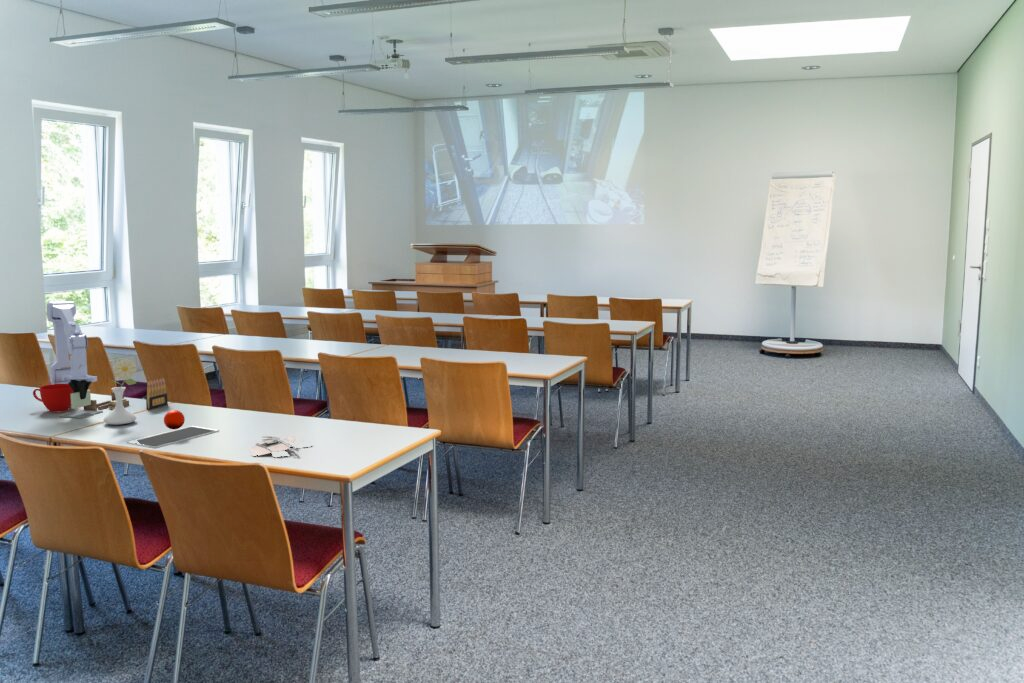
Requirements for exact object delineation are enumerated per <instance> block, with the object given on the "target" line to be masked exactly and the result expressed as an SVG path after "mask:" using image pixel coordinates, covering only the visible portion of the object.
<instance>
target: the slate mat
mask: <svg viewBox="0 0 1024 683" xmlns="http://www.w3.org/2000/svg"><path fill="white" fill-rule="evenodd" d="M101 412H102V413H103V412H104V411H103V410H97V411H96V410H84V409H79V410H76V411H71V412H69V413H64V414H61V415H59V417H60V418H70V419H71V418H72V419H84V417H85V418H88V417H91V416H94V414H95V415H98V414H100V413H101ZM87 416H88V417H87Z"/></svg>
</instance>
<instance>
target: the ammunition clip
mask: <svg viewBox="0 0 1024 683" xmlns="http://www.w3.org/2000/svg"><path fill="white" fill-rule="evenodd" d="M146 384H147V386H146V397H145V398H146V400H145V401H146V402H145V404H146V405H145V406H146V408H145V409H146V410H154V409H155V410H156V409H158V408H162V407H165V406H168V405H169V401H168V393H167V388H166V380H165V378H164V376H163V377H162V378H161V377H159V379H158V378H156V379H153V380H152V379H151V380H150V381H149V380H147V383H146Z"/></svg>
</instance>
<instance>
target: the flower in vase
mask: <svg viewBox="0 0 1024 683" xmlns="http://www.w3.org/2000/svg"><path fill="white" fill-rule="evenodd" d="M137 369H138V367H137V364H136V363H135V362H134V361H133V360H130V359H127V358H124V359H120V360H119V361H117V362H115V365H114V366H113V369H112V372H113V373H114V375H115V377H117V378H119V379H122V380H123V379H124V380H123V382H122V383H120V382H118V381H115V380H113V379H111V381H112V382H113V383H115V384H118V385H120V386H118V387H117V386H116V387H115V386H114V387H112V388H110V389H111V391H112V392H114V394H115V397H116V407H115V409H112V410H111V411H110V412H109V413H108V414H107V415H106V416H105V417H104V418H103V422H104V424H108V425H112V426H113V425H115V426H117V425H125V424H127V425H128V424H131V423H133V422H135V421H136V420H137V416H136V415H135V414H134V413H132V411H130V410H128V409H127V408H125V407H124V406H123V402H122V397H123V392H124V393H125V391H126V389H127V388H126V386H124V383H125V384H127V385H128V386H131V385H135V384H137V382H136V380H135V379H133V378H132V377H134V375H135V373H136V372H137Z"/></svg>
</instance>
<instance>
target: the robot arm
mask: <svg viewBox="0 0 1024 683" xmlns="http://www.w3.org/2000/svg"><path fill="white" fill-rule="evenodd" d="M76 307H77V306H76V302H75V301H72V300H70V301H48V302H47V304H46V316H47V317H46V318H47V321H48V322H50V323H52V326H53V332H54V344H55V346H54V347H55V358H56V359H55V360H56V361H55V362H53V363H52V364H51V365H50V366H49V373H48V374H49V375H48V376H49V382H50V383H51V385H52V384H69V385H70V387H71V388H72V390H73V392H74V393H76V392H80V399H85V398H86V394H87V390H89V387H90V385H91V384H92V383H95V382H98V376H96V375H95V376H94V375H90V374H88V363H87V362H88V361H87V349H88V345H89V340H88V337H87V334H85V333H83V332H82V330H81V327H80V325H79V324H78V323H76V322H75V318H74V317H75V315H76V313H77V308H76Z"/></svg>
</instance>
